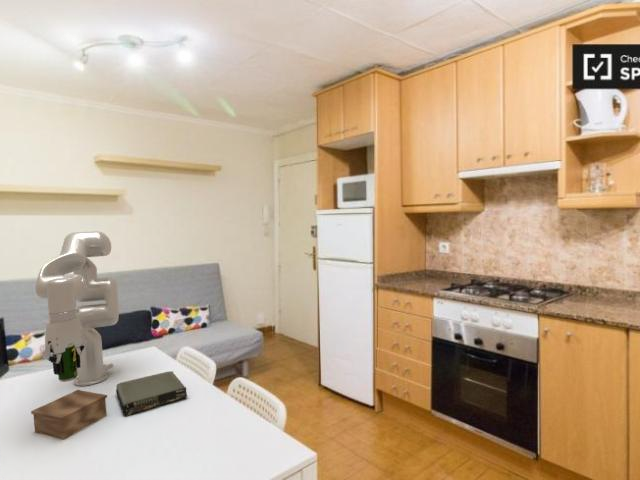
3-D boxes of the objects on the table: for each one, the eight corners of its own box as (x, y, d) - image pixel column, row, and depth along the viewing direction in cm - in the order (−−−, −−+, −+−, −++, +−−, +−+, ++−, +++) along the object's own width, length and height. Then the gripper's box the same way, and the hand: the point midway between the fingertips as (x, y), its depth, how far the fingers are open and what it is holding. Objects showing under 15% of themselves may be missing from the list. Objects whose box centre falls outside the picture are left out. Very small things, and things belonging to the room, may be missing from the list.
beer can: (58, 383, 126) (55, 346, 125) (58, 378, 131) (55, 342, 130) (78, 379, 129) (75, 343, 128) (77, 374, 134) (74, 339, 133)
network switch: (126, 421, 132) (125, 406, 132) (108, 398, 150) (107, 385, 149) (193, 397, 147) (193, 384, 147) (170, 379, 165) (169, 367, 165)
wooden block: (79, 408, 141) (77, 389, 140) (108, 414, 136) (106, 394, 135) (32, 432, 126) (30, 411, 126) (63, 440, 121) (61, 418, 121)
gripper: (79, 309, 138) (83, 360, 139) (27, 322, 122) (32, 379, 123) (95, 310, 135) (99, 362, 136) (44, 324, 119) (49, 382, 120)
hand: (67, 370), depth 130 cm, fingers closed on beer can, 5 cm apart
